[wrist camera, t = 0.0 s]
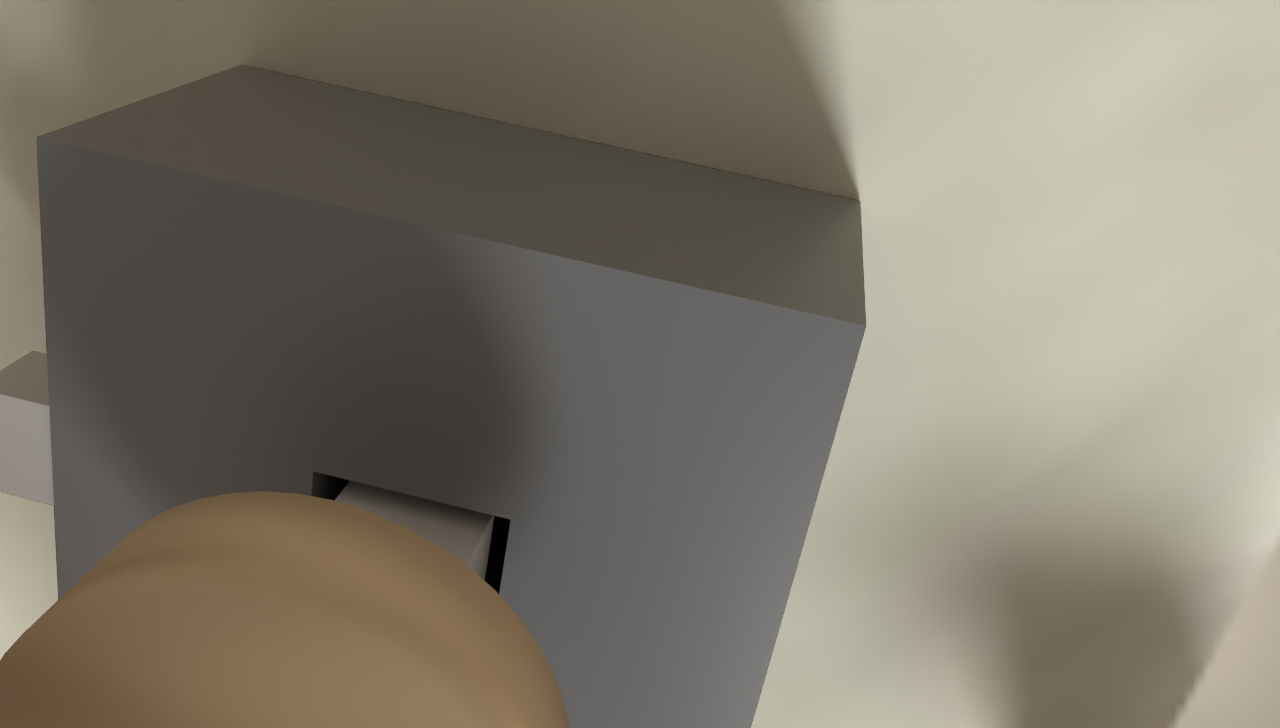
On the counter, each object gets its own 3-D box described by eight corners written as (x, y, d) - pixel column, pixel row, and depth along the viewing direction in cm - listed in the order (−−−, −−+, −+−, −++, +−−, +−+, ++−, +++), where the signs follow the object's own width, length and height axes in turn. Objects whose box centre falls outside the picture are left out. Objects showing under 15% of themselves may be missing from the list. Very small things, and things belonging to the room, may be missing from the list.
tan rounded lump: (587, 763, 20) (495, 1091, 15) (213, 666, 21) (-7, 950, 16) (659, 420, 18) (577, 675, 12) (222, 317, 18) (-46, 518, 13)
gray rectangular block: (724, 700, 26) (693, 929, 21) (146, 554, 27) (-35, 735, 22) (860, 201, 21) (866, 326, 16) (143, 43, 22) (-94, 108, 17)
